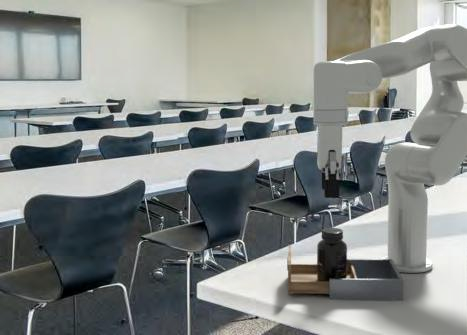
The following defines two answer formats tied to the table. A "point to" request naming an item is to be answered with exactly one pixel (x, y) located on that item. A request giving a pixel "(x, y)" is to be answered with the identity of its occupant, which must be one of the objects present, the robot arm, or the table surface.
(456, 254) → the table surface
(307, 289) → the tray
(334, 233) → the supplement bottle
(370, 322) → the table surface
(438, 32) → the robot arm
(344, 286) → the housing
